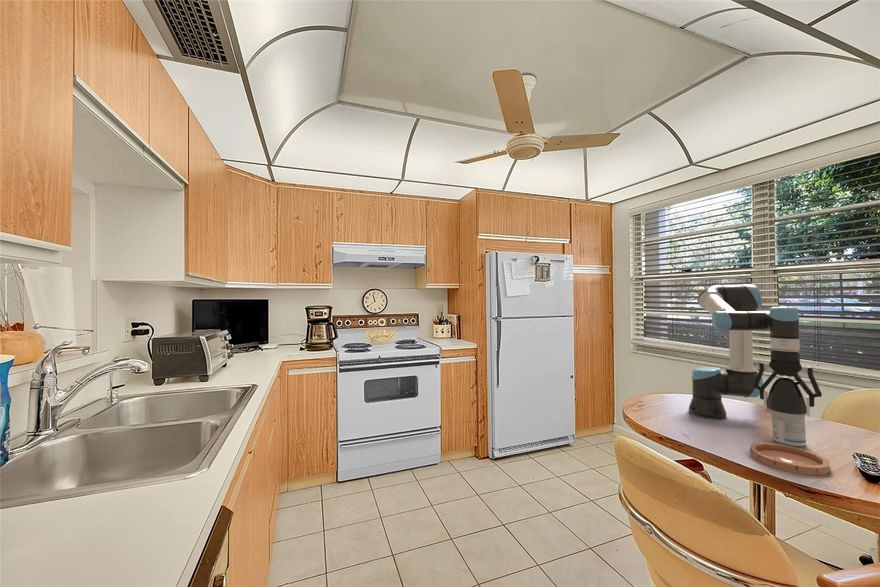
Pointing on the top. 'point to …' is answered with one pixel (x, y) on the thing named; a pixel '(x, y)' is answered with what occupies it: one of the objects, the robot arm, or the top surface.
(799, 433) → the supplement tub
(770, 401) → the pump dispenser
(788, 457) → the round tray
